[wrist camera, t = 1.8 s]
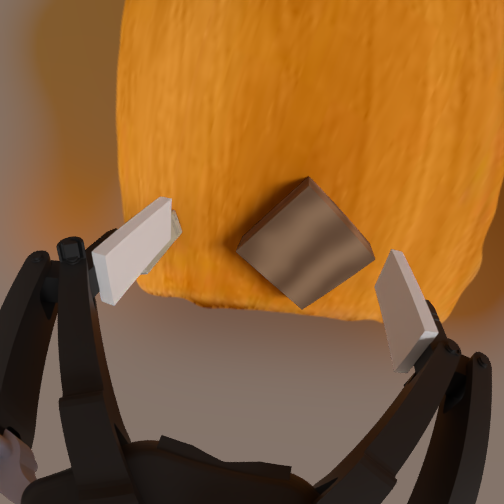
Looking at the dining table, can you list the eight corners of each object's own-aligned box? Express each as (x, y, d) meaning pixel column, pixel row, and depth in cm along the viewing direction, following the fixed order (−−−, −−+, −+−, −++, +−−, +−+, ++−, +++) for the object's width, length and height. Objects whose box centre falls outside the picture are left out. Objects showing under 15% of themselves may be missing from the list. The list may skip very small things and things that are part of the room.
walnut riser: (242, 235, 44) (235, 251, 40) (308, 175, 38) (309, 185, 33) (303, 290, 48) (301, 309, 43) (369, 242, 41) (375, 259, 37)
